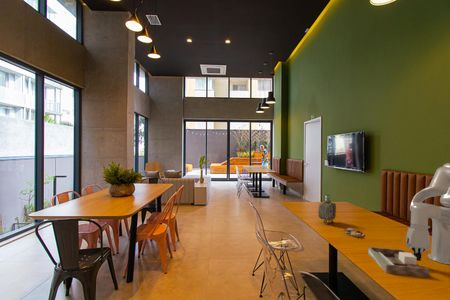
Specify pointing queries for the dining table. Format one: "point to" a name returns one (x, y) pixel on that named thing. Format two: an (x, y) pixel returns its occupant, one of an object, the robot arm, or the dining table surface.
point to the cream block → (407, 258)
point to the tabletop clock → (327, 210)
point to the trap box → (395, 262)
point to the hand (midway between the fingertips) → (417, 259)
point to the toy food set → (354, 232)
